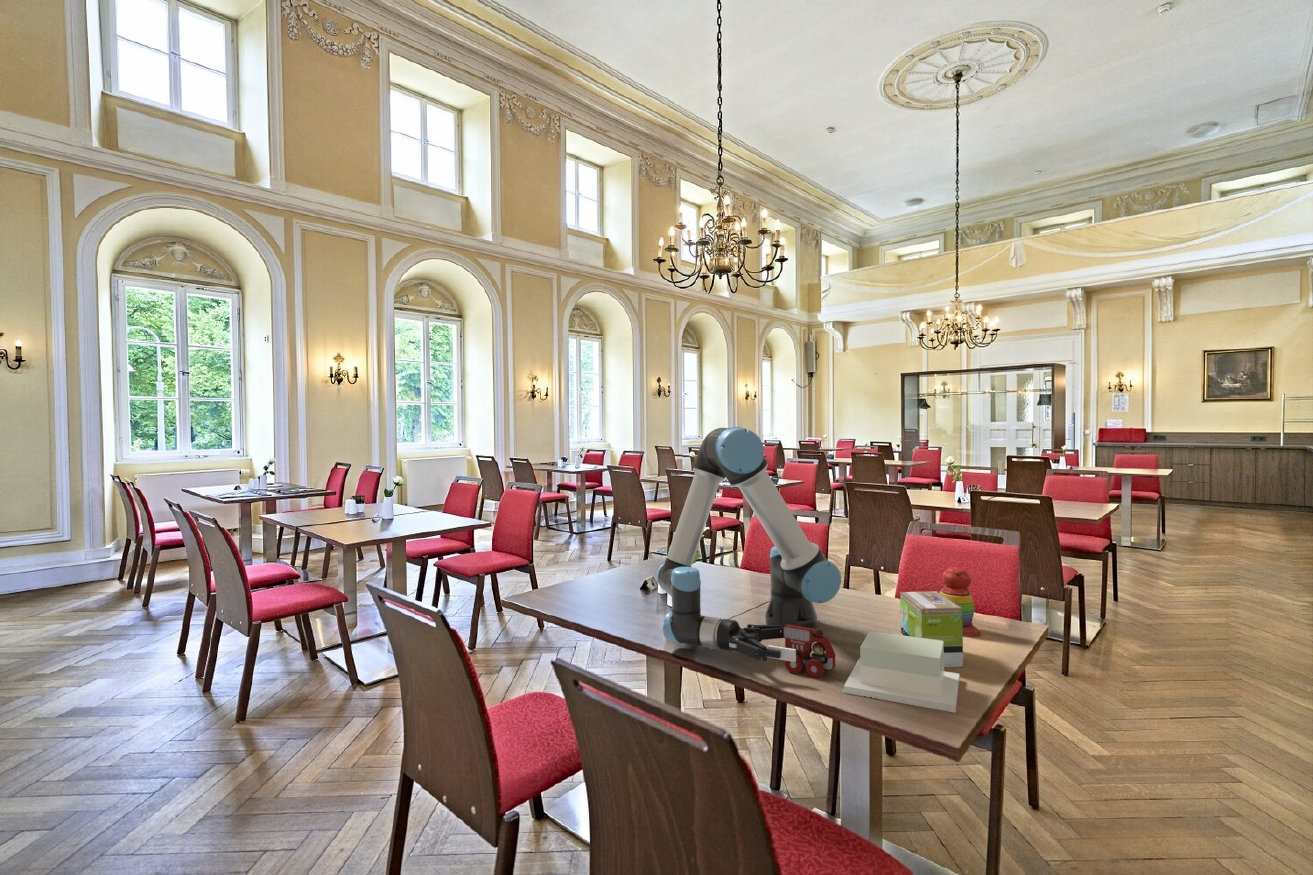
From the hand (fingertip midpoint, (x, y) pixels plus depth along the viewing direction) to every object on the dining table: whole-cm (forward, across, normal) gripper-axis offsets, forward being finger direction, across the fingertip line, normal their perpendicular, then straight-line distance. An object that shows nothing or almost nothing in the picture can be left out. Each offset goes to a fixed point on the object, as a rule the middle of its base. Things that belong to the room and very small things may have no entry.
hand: (803, 646), depth 148 cm
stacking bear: (+31, -48, -6) cm, 57 cm away
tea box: (+26, -23, -6) cm, 35 cm away
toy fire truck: (+1, -1, -6) cm, 6 cm away
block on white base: (+22, -1, -6) cm, 23 cm away
